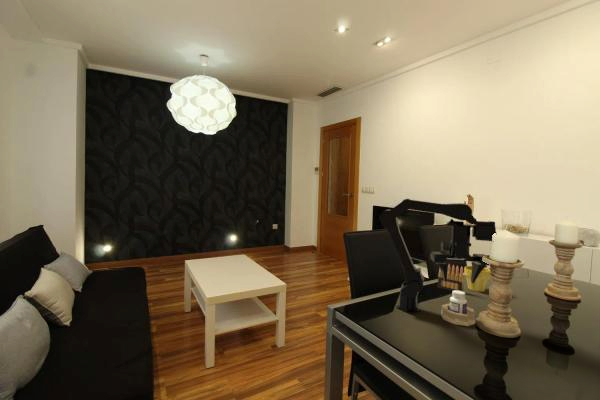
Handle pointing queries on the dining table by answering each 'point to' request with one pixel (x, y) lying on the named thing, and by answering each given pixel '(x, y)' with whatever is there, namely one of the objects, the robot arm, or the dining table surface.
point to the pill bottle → (458, 302)
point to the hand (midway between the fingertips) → (458, 282)
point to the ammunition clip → (451, 279)
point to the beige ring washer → (458, 316)
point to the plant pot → (480, 281)
